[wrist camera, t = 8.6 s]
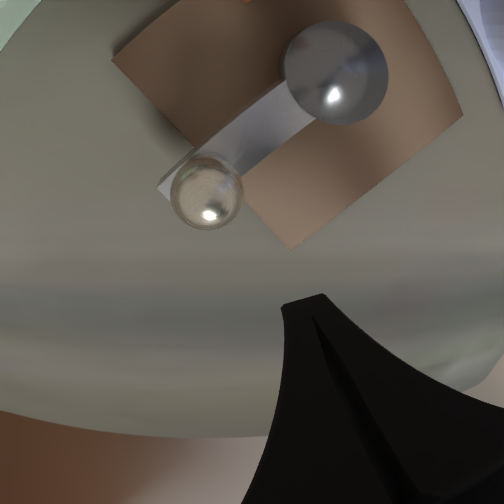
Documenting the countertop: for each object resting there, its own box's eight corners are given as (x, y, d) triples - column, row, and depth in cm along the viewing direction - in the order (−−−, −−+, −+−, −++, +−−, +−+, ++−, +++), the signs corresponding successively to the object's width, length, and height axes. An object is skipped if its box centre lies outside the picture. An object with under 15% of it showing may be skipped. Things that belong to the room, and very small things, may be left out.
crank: (335, 9, 9) (391, -14, 5) (388, 87, 10) (454, 99, 7) (141, 158, 11) (112, 197, 7) (208, 225, 12) (211, 286, 9)
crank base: (330, -79, 7) (340, -89, 6) (457, 113, 12) (472, 117, 11) (114, 60, 10) (105, 59, 9) (287, 245, 15) (293, 259, 14)
